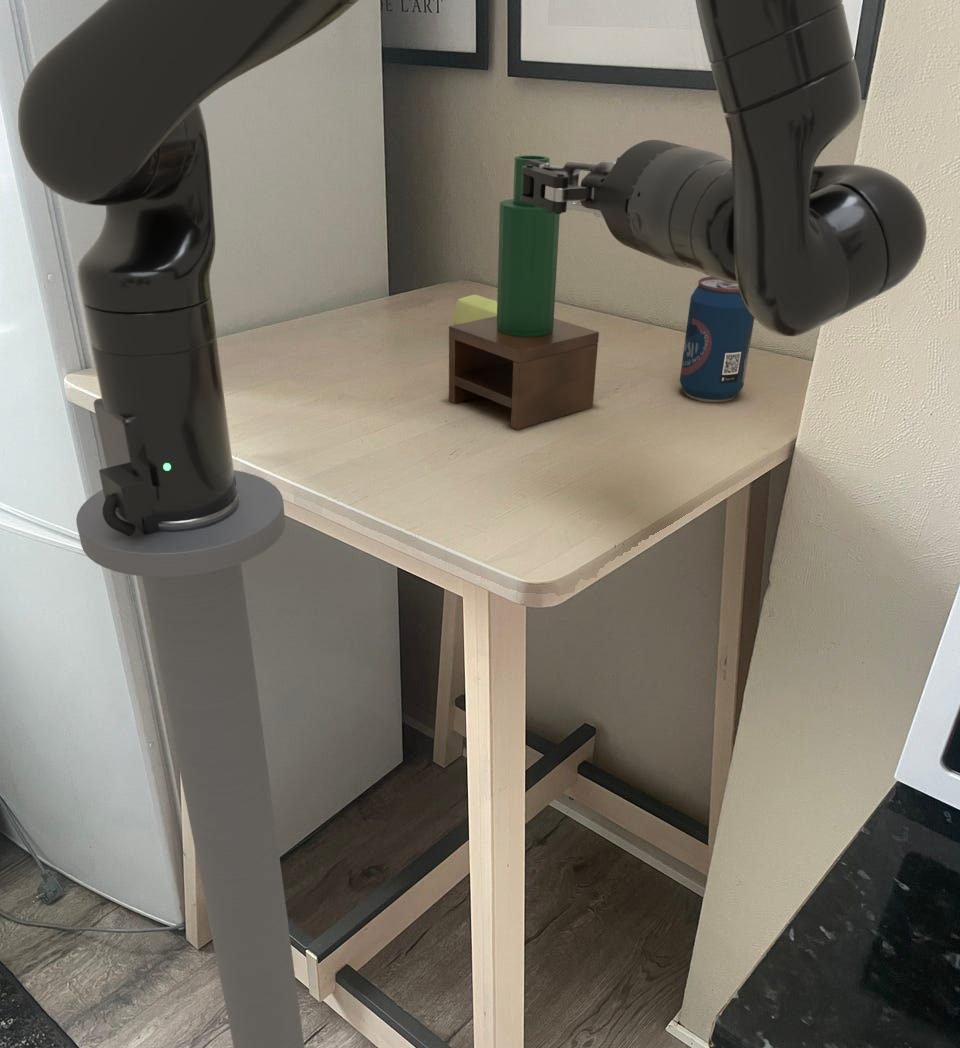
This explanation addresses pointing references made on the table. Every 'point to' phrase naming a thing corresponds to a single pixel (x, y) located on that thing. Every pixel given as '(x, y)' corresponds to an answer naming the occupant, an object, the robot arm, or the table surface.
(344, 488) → the table surface
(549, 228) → the bottle
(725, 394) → the soda can
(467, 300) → the yellow green block
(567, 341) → the shelf
